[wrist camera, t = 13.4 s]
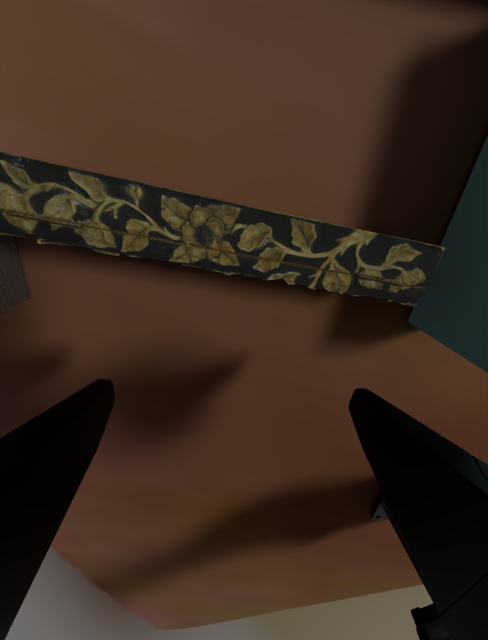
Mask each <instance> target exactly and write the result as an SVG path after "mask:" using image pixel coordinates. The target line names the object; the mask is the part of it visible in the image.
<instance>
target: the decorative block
mask: <svg viewBox="0 0 488 640" xmlns="http://www.w3.org/2000/svg"><path fill="white" fill-rule="evenodd" d="M0 235H9V236H17V237H25V238H35V239H37V242H38V244H58V245H68V246H83V247H88V248H93V251H97V252H100V253H104V254H110V255H116V256H119V254H120V253H122V254H125V255H127V256H130V257H135V258H145V257H146V258H153V259H159V260H164V261H169V262H175V263H181V264H182V265H184V266H189V267H196V268H206V270H212V271H216V272H220V273H224V274H226V275H233V274H241V275H243V276H255V277H261V279H264V280H275V279H281V278H282V279H283V280H284V281H286V282H287V283H288V284H293V285H297V284H302V285H305V286H308V287H309V288H310V289H314V290H315V289H316V288H321V289H327V290H328V291H329V292H336V293H339V294H343V293H347V294H349V295H352V296H364V295H365V296H372V297H378V298H383V299H388V302H390V301H396V302H398V303H400V304H403V305H410V306H416V305H417V304H418V303H419V301H420V299H421V297H422V295H423V293H424V291H425V289H424V288H426V287H427V285H428V283H429V281H430V279H431V277H432V275H433V273H434V271H435V269H436V268H437V266H438V264H439V262H440V260H441V258H442V256H443V252H444V249H445V248H444V247H440V246H436V245H432V244H428V243H423V242H419V241H414V240H409V239H404V238H399V237H395V236H389V235H384V234H379V233H374V232H369V231H365V230H361V229H356V228H351V227H346V226H341V225H336V224H331V223H326V222H321V221H317V220H313V219H308V218H304V217H299V216H294V215H289V214H284V213H279V212H275V211H270V210H266V209H261V208H256V207H252V206H247V205H242V204H238V203H233V202H229V201H224V200H219V199H215V198H211V197H206V196H202V195H197V194H193V193H188V192H184V191H179V190H174V189H169V188H164V187H160V186H155V185H150V184H145V183H141V182H137V181H132V180H128V179H124V178H119V177H114V176H110V175H105V174H100V173H96V172H91V171H87V170H82V169H78V168H73V167H68V166H64V165H59V164H55V163H50V162H46V161H41V160H36V159H32V158H27V157H23V156H18V155H13V154H8V153H4V152H0Z"/></svg>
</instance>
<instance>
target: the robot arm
mask: <svg viewBox="0 0 488 640" xmlns="http://www.w3.org/2000/svg"><path fill="white" fill-rule="evenodd" d="M114 401H115V397H114V390H113V383H112V381H111V380H109V379H98V380H96V381H94V382H93V383H91V384H89V385H88V386H86V387H84V388H83V389H81V390H79V391H78V392H76V393H74V394H73V395H71V396H69V397H68V398H66V399H64V400H63V401H61V402H59V403H58V404H56V405H55V406H53V407H51V408H50V409H48V410H46V411H45V412H43V413H41V414H40V415H38V416H36V417H35V418H33V419H31V420H30V421H28V422H26V423H25V424H23V425H21V426H20V427H18V428H16V429H15V430H13V431H11V432H10V433H8V434H6V435H5V436H3V437H1V438H0V640H5V638H6V636H7V633H8V631H9V629H10V627H11V625H12V623H13V621H14V619H15V617H16V615H17V613H18V611H19V609H20V607H21V605H22V603H23V601H24V598H25V597H26V595H27V593H28V590H29V588H30V586H31V584H32V582H33V580H34V578H35V576H36V574H37V572H38V570H39V568H40V566H41V564H42V562H43V560H44V558H45V555H46V553H47V551H48V549H49V547H50V545H51V543H52V541H53V539H54V537H55V535H56V533H57V531H58V529H59V527H60V525H61V523H62V521H63V519H64V517H65V515H66V513H67V510H68V508H69V506H70V504H71V502H72V500H73V498H74V496H75V494H76V492H77V490H78V488H79V486H80V484H81V482H82V480H83V478H84V476H85V474H86V472H87V469H88V467H89V465H90V463H91V461H92V459H93V457H94V455H95V453H96V451H97V449H98V446H99V444H100V441H101V438H102V436H103V433H104V430H105V427H106V425H107V422H108V419H109V416H110V414H111V411H112V408H113V405H114ZM349 411H350V414H351V417H352V420H353V423H354V426H355V429H356V431H357V434H358V437H359V440H360V443H361V445H362V448H363V450H364V453H365V455H366V457H367V459H368V461H369V464H370V466H371V468H372V470H373V472H374V474H375V477H376V479H377V481H378V483H379V485H380V487H381V490H382V492H381V494H380V495H379V497H378V499H377V501H376V502H375V504H374V506H373V508H372V510H371V511H370V515H371V517H372V519H373V520H390V522H391V524H392V526H393V528H394V529H395V531H396V533H397V535H398V537H399V539H400V541H401V543H402V545H403V546H404V548H405V550H406V552H407V554H408V556H409V558H410V560H411V562H412V563H413V565H414V567H415V569H416V571H417V573H418V575H419V577H420V579H421V580H422V582H423V584H424V586H425V588H426V590H427V592H428V594H429V595H430V597H431V599H432V601H433V604H431V605H428V606H426V607H423V608H419V607H417V608H415V609H412V610H411V613H412V616H413V619H414V622H415V624H416V627H417V628H416V630H417V634H418V636H419V639H420V640H488V465H487V464H486V463H484V462H483V461H481V460H479V459H478V458H476V457H475V456H471V454H470V453H468V452H467V451H465V450H463V449H462V448H460V447H459V446H457V445H455V444H454V443H452V442H451V441H449V440H447V439H446V438H444V437H443V436H441V435H439V434H438V433H436V432H435V431H433V430H431V429H430V428H428V427H427V426H425V425H424V424H422V423H420V422H419V421H417V420H416V419H414V418H412V417H411V416H409V415H408V414H406V413H404V412H403V411H401V410H400V409H398V408H396V407H395V406H393V405H392V404H390V403H389V402H387V401H385V400H384V399H382V398H381V397H379V396H377V395H376V394H374V393H373V392H371V391H369V390H368V389H363V388H357V389H355V390H354V392H353V395H352V397H351V400H350V403H349Z"/></svg>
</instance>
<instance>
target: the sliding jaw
mask: <svg viewBox="0 0 488 640" xmlns="http://www.w3.org/2000/svg"><path fill="white" fill-rule="evenodd" d="M440 247H444V248H445V249H444V252H443V256H442V258H441V260H440V262H439V264H438V266H437V268H436V269H435V271H434V273H433V275H432V277H431V279H430V281H429V283H428V285H427V287H426V288H424V289H425V291H424V293H423V295H422V297H421V299H420V301H419V303H418V304H417V305H416V306H414V308H413V310H412V313H411V315H410V317H409V320H408V322H409V323H410V324H412V325H414V326H415V327H417V328H418V329H420V330H421V331H423V332H425V333H426V334H428V335H429V336H431V337H432V338H434V339H436V340H437V341H439V342H440V343H442V344H443V345H445V346H447V347H448V348H450V349H451V350H453V351H454V352H456V353H458V354H459V355H461V356H462V357H464V358H466V359H467V360H469V361H470V362H472V363H473V364H475V365H477V366H478V367H480V368H481V369H483V370H484V371H486V372H488V136H487V138H486V140H485V143H484V145H483V147H482V150H481V152H480V154H479V157H478V159H477V161H476V164H475V166H474V168H473V171H472V173H471V175H470V178H469V180H468V182H467V185H466V187H465V189H464V192H463V194H462V196H461V199H460V201H459V203H458V206H457V208H456V210H455V213H454V215H453V217H452V220H451V222H450V224H449V227H448V229H447V231H446V234H445V236H444V238H443V241H442V243H441V245H440Z"/></svg>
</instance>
